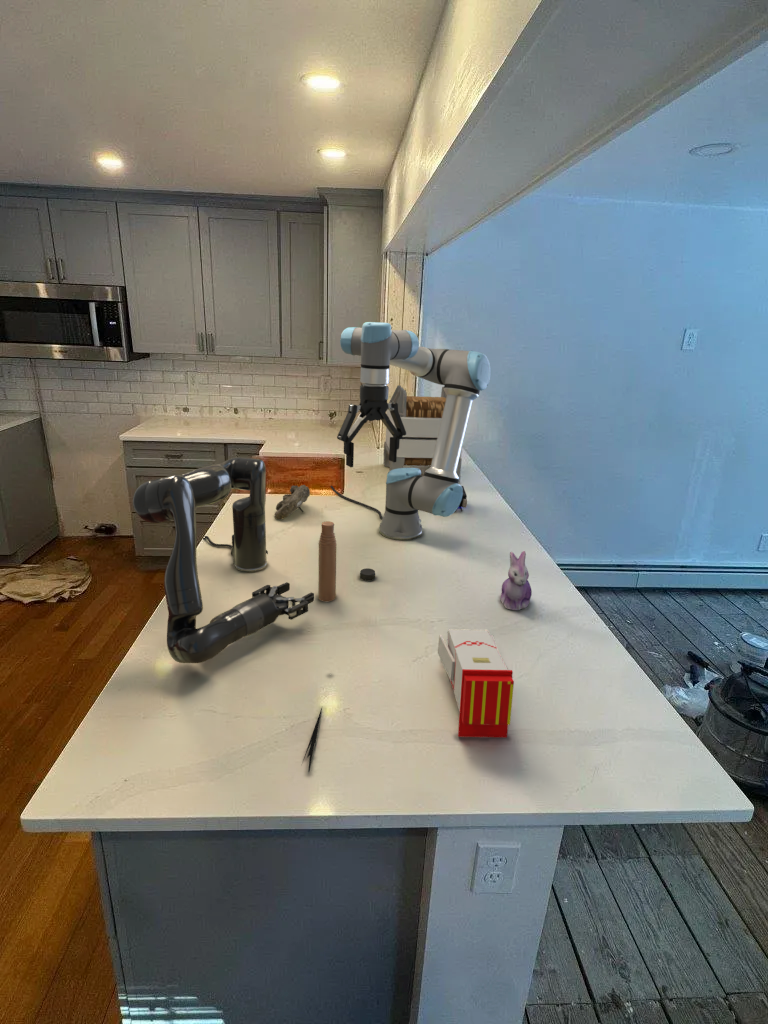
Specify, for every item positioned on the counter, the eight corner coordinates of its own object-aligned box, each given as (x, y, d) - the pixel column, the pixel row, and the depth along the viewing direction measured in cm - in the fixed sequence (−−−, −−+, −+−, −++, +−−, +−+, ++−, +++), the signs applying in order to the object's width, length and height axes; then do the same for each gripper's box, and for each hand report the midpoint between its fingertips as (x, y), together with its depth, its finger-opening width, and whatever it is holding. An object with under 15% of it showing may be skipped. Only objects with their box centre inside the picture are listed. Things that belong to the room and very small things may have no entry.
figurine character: (467, 516, 223) (461, 500, 237) (469, 499, 220) (463, 483, 233) (450, 516, 223) (446, 499, 236) (452, 498, 220) (447, 483, 233)
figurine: (514, 615, 149) (521, 563, 144) (490, 597, 158) (496, 548, 153) (541, 608, 153) (549, 557, 148) (516, 591, 162) (523, 543, 157)
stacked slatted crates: (382, 463, 289) (386, 382, 275) (445, 464, 293) (451, 384, 279) (390, 482, 257) (394, 392, 243) (460, 483, 261) (468, 394, 247)
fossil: (279, 491, 226) (308, 470, 221) (295, 509, 228) (323, 489, 223) (264, 515, 206) (294, 493, 201) (281, 534, 209) (312, 514, 204)
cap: (375, 574, 169) (375, 568, 168) (374, 581, 164) (375, 575, 164) (360, 573, 169) (360, 567, 168) (359, 580, 165) (359, 574, 164)
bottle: (339, 596, 155) (340, 522, 148) (329, 603, 151) (330, 528, 144) (324, 591, 157) (325, 518, 150) (314, 598, 153) (314, 524, 146)
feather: (331, 679, 122) (336, 673, 122) (307, 777, 96) (313, 769, 95) (324, 675, 122) (329, 669, 121) (298, 772, 95) (304, 764, 95)
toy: (488, 613, 130) (523, 677, 101) (484, 667, 133) (517, 744, 104) (435, 612, 130) (455, 676, 101) (432, 666, 133) (451, 743, 103)
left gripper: (273, 611, 127) (321, 586, 139) (230, 591, 134) (280, 569, 147) (273, 640, 129) (321, 613, 142) (232, 619, 137) (281, 595, 149)
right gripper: (406, 381, 157) (402, 456, 164) (324, 384, 144) (324, 464, 152) (421, 385, 151) (416, 462, 158) (338, 388, 138) (337, 471, 146)
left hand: (300, 590), depth 144 cm, fingers open, 8 cm apart
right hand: (371, 463), depth 155 cm, fingers open, 13 cm apart
